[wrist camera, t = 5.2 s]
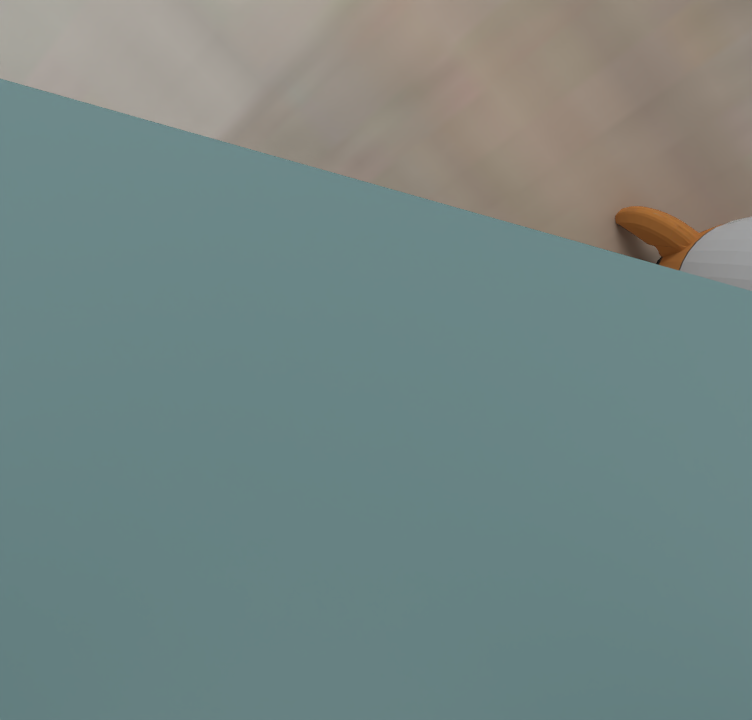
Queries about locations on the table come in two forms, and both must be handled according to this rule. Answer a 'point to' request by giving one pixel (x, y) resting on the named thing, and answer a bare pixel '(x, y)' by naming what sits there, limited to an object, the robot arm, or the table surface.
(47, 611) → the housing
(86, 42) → the table surface
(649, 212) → the toy rocket
